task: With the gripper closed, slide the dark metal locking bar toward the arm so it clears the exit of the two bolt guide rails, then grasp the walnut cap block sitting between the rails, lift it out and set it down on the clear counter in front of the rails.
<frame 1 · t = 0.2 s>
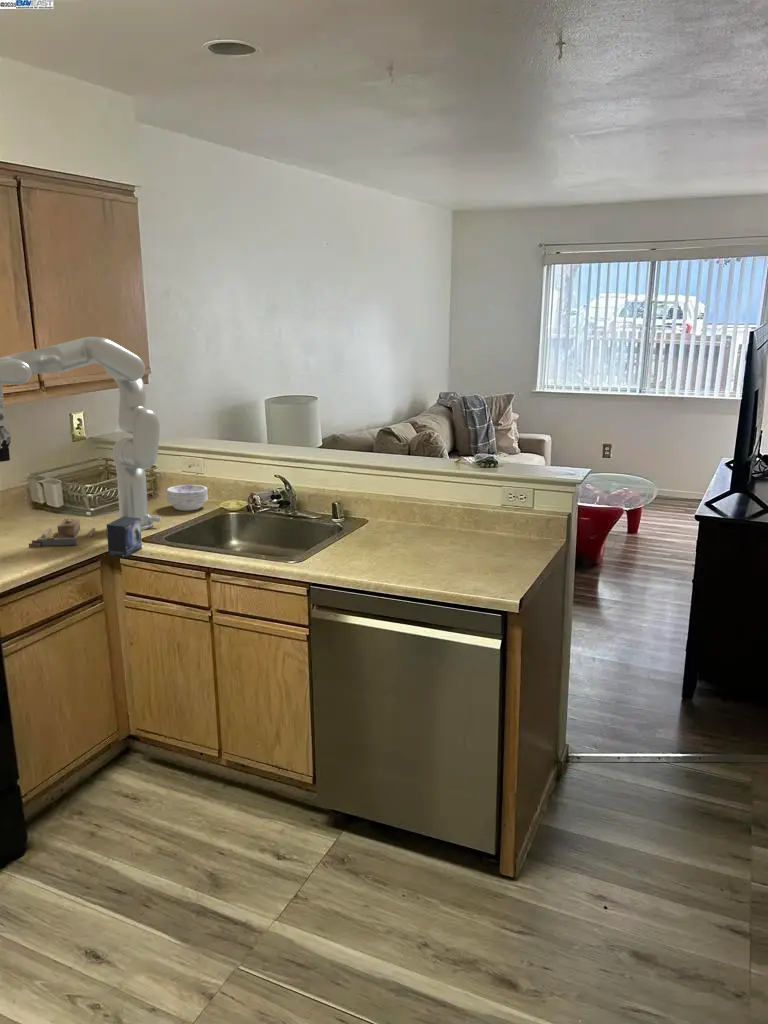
bolt guide rails: (69, 534, 265), on the counter
locking bar: (56, 539, 253), point 2 cm above the counter, slide at 0.0 cm
paper bowls: (188, 508, 303), on the counter
small box: (125, 553, 248), on the counter
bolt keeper: (36, 545, 253), on the counter
cap block: (69, 535, 266), on the counter
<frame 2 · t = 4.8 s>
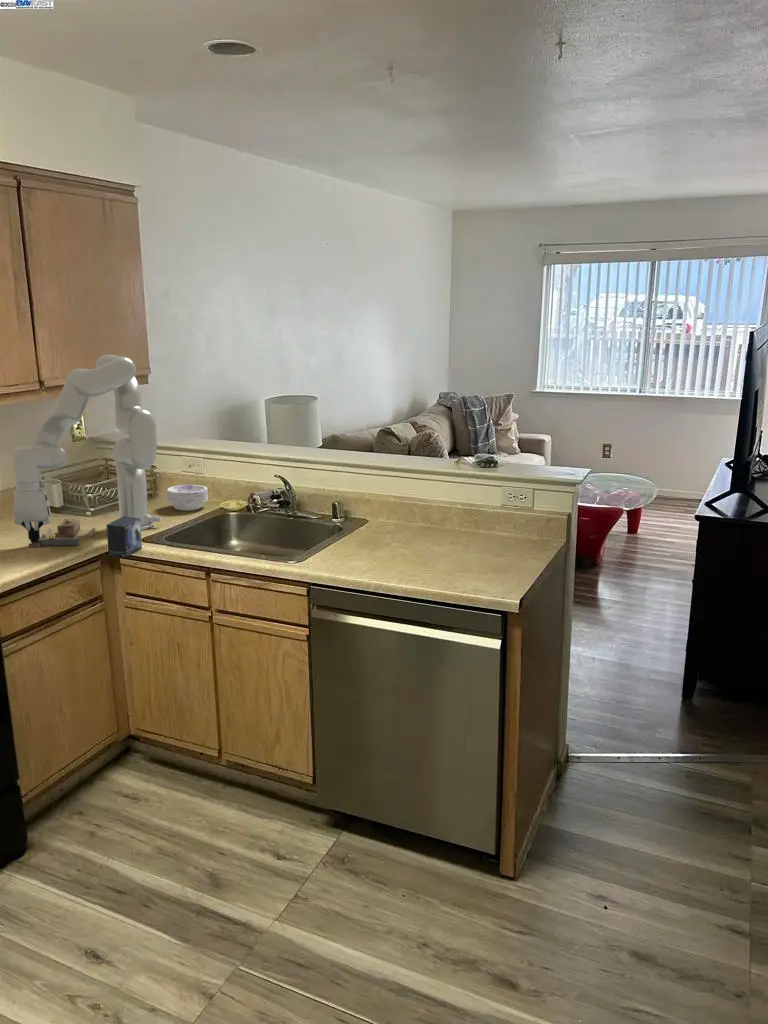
hand: (34, 541, 253), 1 cm above the counter, tool pointing down, fingers closed
locking bar: (58, 539, 253), point 2 cm above the counter, slide at 0.6 cm, touching gripper
everything else where it was.
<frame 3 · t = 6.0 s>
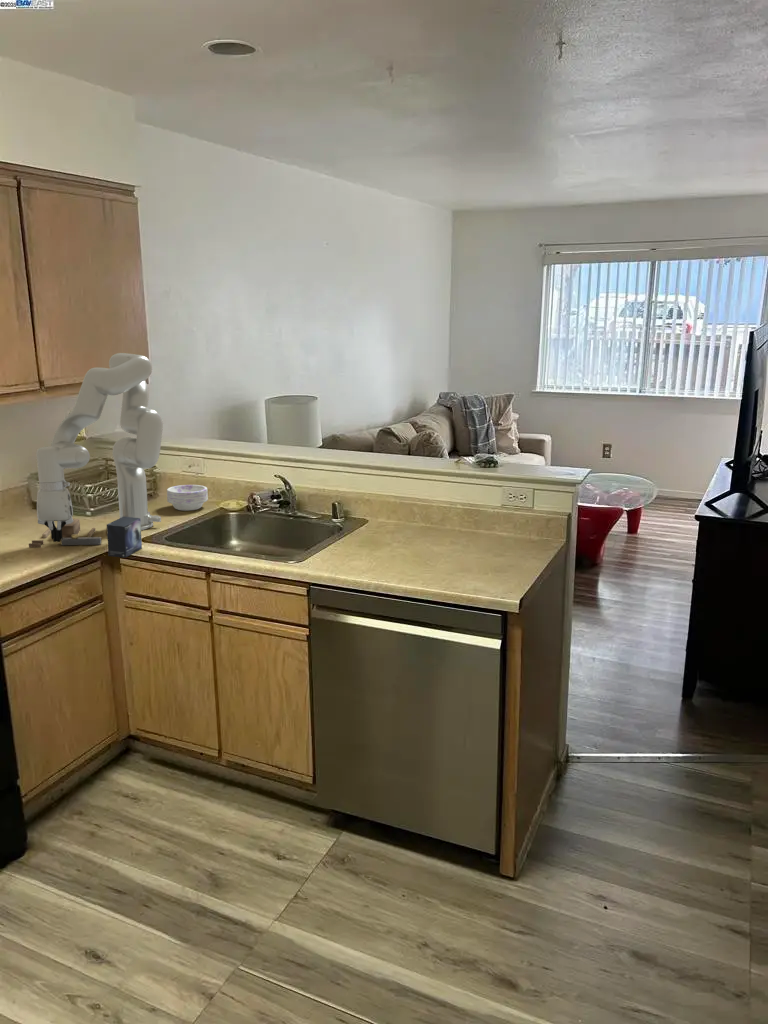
hand: (57, 540, 254), 1 cm above the counter, tool pointing down, fingers closed
locking bar: (81, 539, 254), point 2 cm above the counter, slide at 7.6 cm, touching gripper
everything else where it was.
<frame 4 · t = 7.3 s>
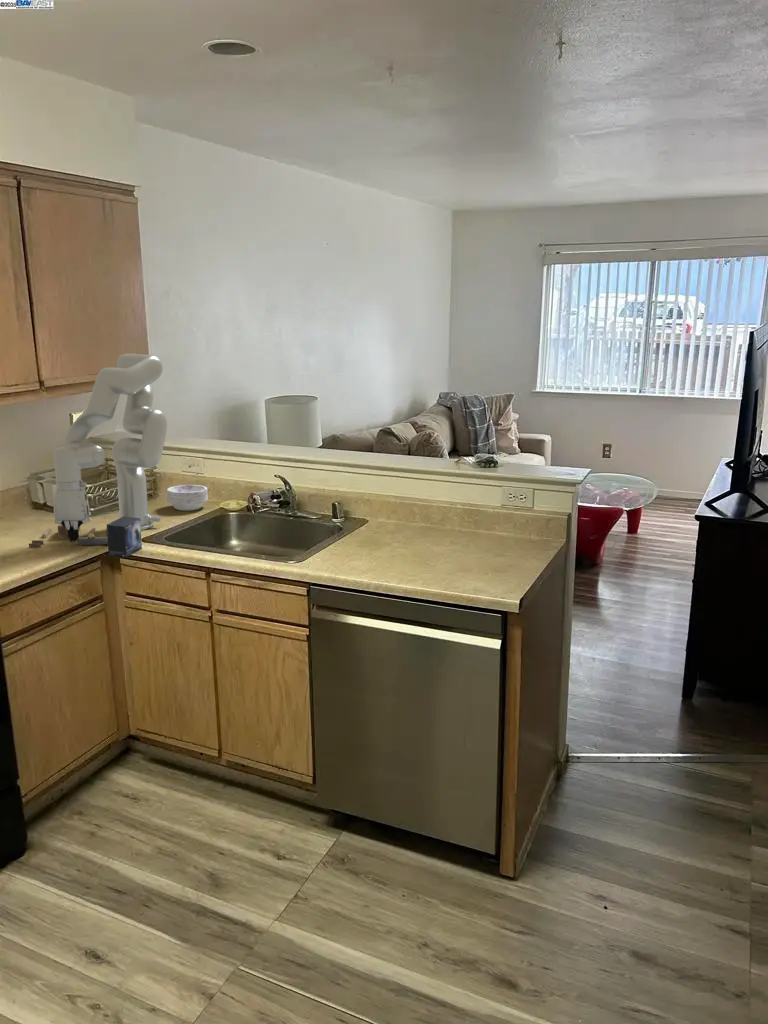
hand: (73, 540, 254), 1 cm above the counter, tool pointing down, fingers closed
locking bar: (97, 538, 255), point 2 cm above the counter, slide at 12.7 cm, touching gripper
everything else where it was.
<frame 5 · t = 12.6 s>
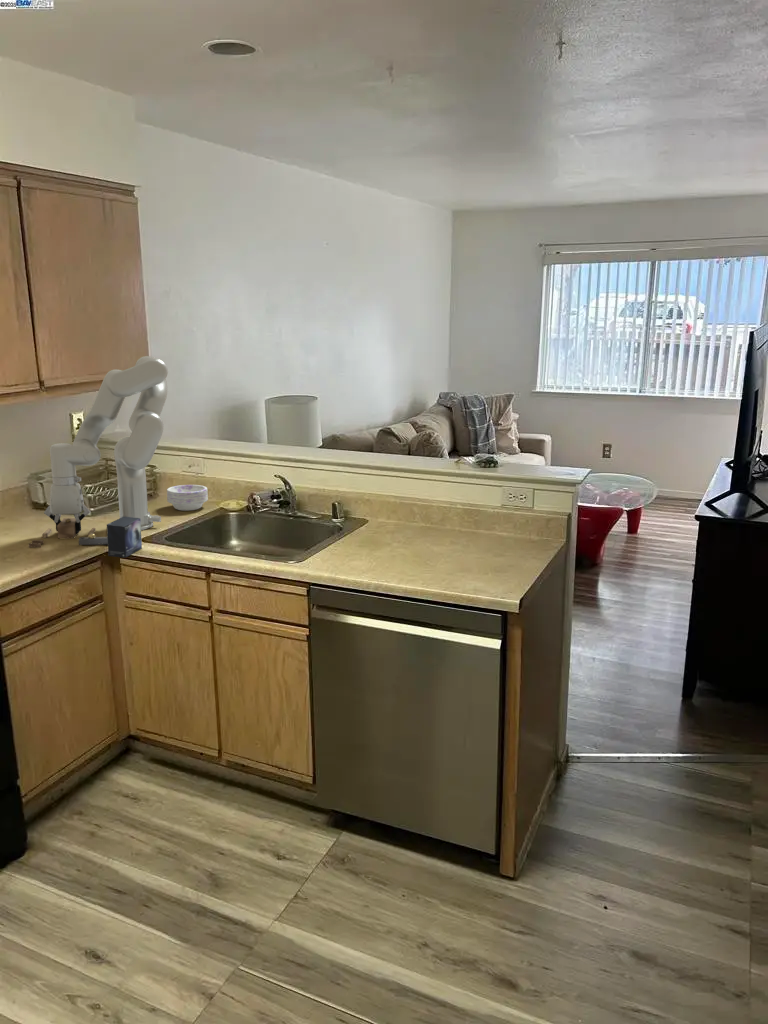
hand: (69, 532, 265), 1 cm above the counter, tool pointing down, fingers closed on cap block, 5 cm apart
locking bar: (98, 538, 255), point 2 cm above the counter, slide at 12.9 cm
cap block: (69, 534, 265), on the counter, touching gripper
everything else where it was.
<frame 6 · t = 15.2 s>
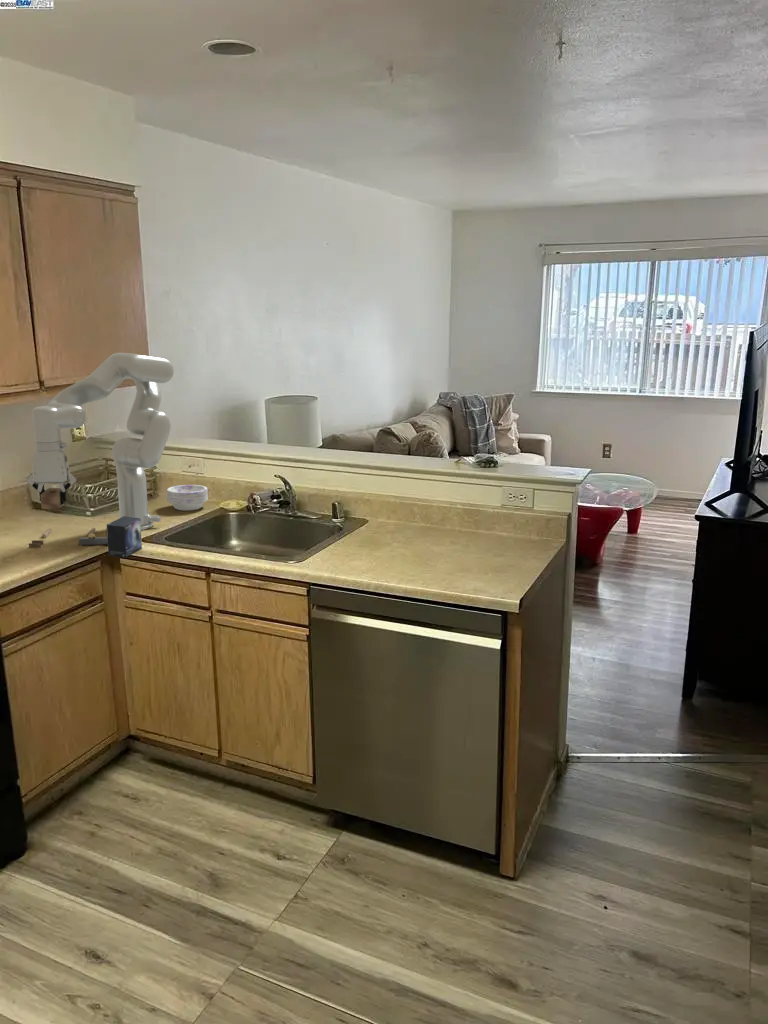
hand: (53, 502, 247), 15 cm above the counter, tool pointing down, fingers closed on cap block, 5 cm apart
cap block: (53, 505, 247), point 14 cm above the counter, touching gripper
everything else where it was.
when the fingers open (2 cm above the counter, at t = 17.9 s): cap block drops 1 cm, on the counter.
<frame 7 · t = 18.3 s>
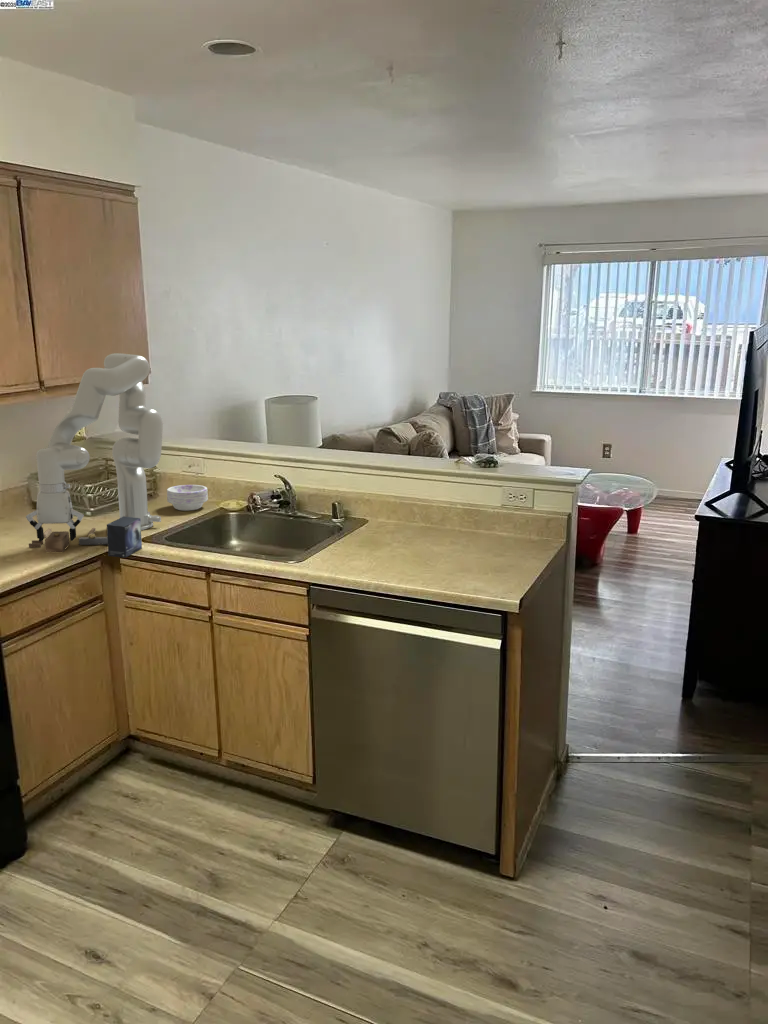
hand: (57, 540, 250), 3 cm above the counter, tool pointing down, fingers open, 9 cm apart
cap block: (58, 548, 251), on the counter
everything else where it was.
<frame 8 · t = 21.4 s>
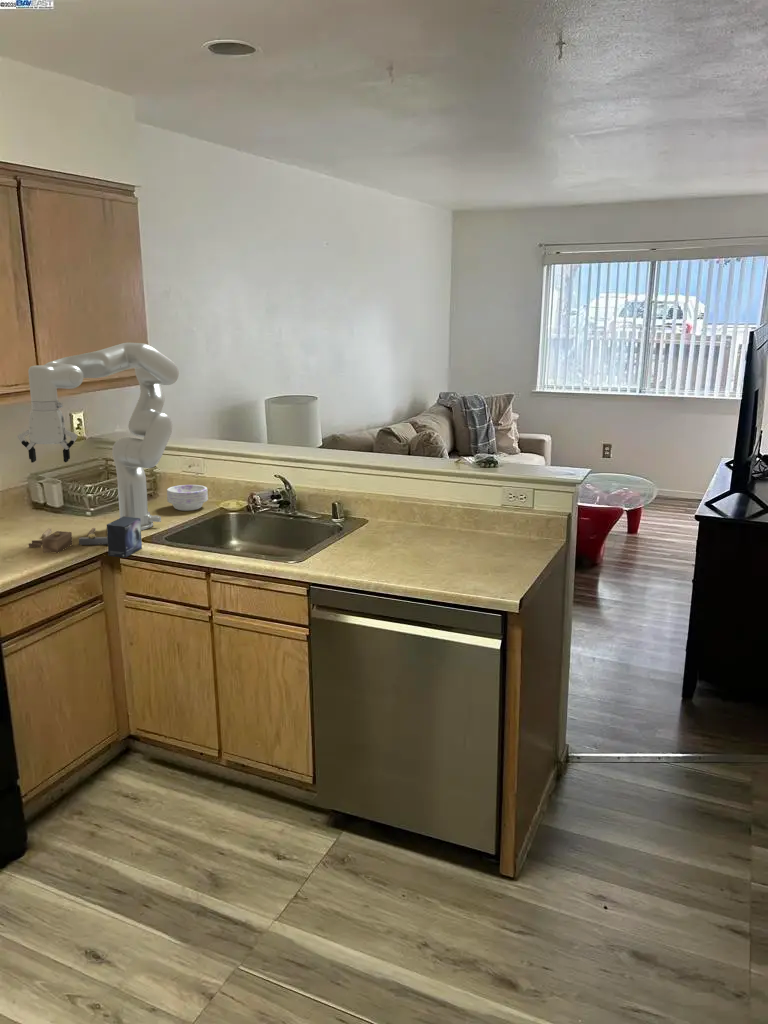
hand: (50, 461, 243), 28 cm above the counter, tool pointing down, fingers open, 9 cm apart
at the end: cap block inside the target area (0.1 cm from its centre), on the counter; cap block tilted 0°; locking bar slide at 12.9 cm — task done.
